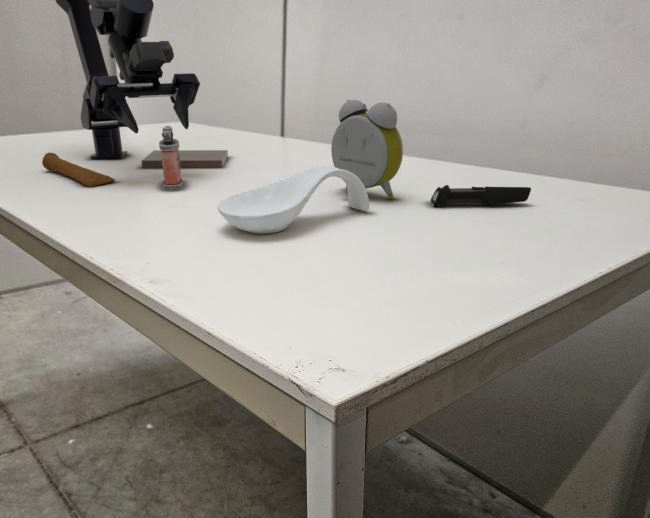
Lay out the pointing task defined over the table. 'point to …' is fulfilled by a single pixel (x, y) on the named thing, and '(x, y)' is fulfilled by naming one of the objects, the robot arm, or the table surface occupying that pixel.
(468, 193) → the electric trimmer
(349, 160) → the alarm clock
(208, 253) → the table surface
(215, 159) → the board
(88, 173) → the primitive tool
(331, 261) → the table surface
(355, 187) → the spoon rest
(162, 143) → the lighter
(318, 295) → the table surface
